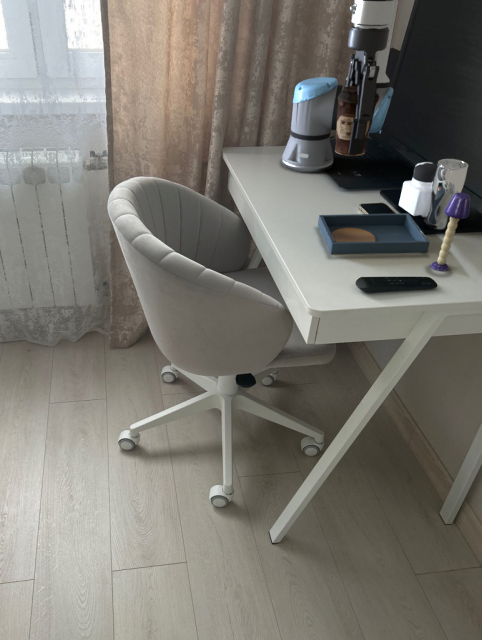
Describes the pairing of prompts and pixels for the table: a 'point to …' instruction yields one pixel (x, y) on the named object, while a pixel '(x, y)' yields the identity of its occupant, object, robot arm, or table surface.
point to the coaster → (352, 235)
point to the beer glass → (444, 191)
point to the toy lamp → (452, 227)
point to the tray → (375, 233)
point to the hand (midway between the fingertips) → (350, 147)
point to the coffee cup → (349, 119)
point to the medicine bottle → (418, 190)
